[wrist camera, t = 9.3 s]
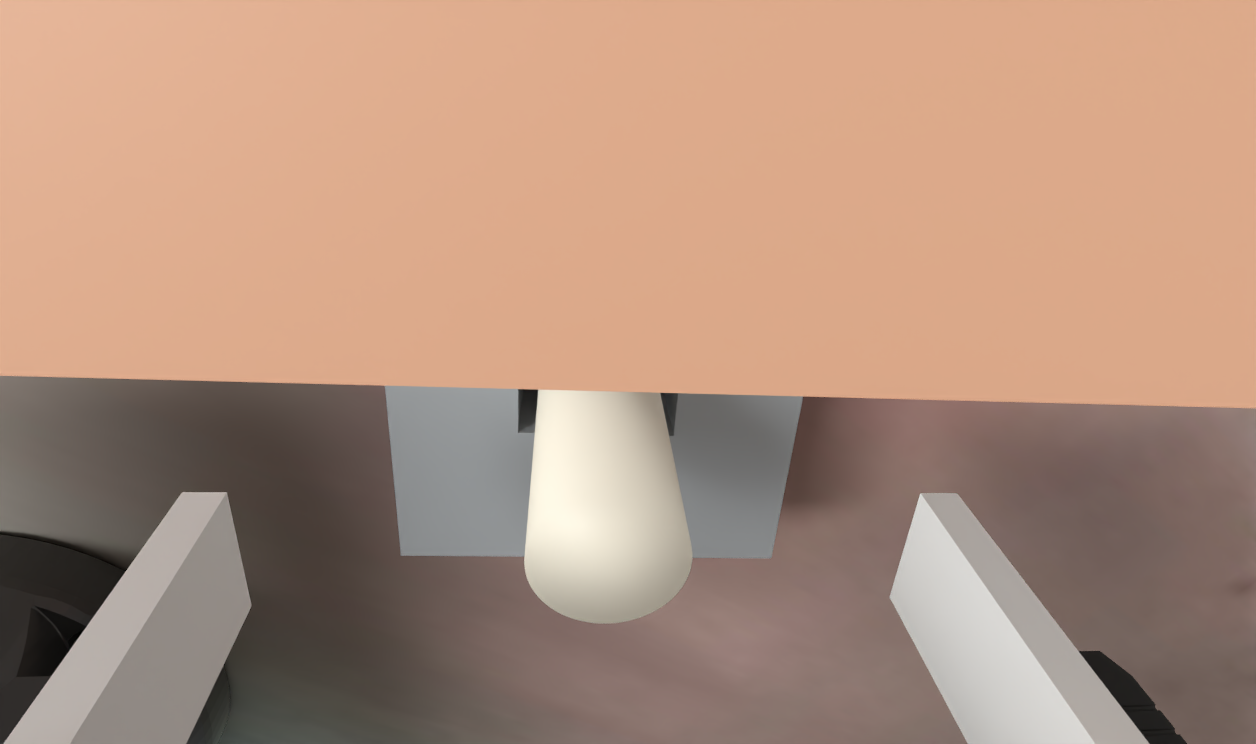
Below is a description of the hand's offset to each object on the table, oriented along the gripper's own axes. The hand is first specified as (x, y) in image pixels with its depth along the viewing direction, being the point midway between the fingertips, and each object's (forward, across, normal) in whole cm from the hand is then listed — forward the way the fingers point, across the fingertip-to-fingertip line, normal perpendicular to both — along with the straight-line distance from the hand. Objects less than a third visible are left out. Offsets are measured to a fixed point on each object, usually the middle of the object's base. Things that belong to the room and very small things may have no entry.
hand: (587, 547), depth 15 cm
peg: (+12, +1, 0) cm, 12 cm away
